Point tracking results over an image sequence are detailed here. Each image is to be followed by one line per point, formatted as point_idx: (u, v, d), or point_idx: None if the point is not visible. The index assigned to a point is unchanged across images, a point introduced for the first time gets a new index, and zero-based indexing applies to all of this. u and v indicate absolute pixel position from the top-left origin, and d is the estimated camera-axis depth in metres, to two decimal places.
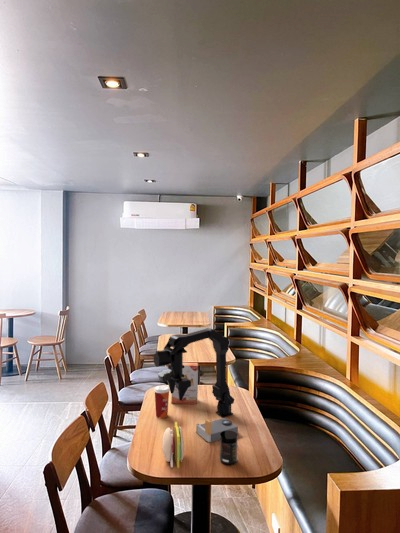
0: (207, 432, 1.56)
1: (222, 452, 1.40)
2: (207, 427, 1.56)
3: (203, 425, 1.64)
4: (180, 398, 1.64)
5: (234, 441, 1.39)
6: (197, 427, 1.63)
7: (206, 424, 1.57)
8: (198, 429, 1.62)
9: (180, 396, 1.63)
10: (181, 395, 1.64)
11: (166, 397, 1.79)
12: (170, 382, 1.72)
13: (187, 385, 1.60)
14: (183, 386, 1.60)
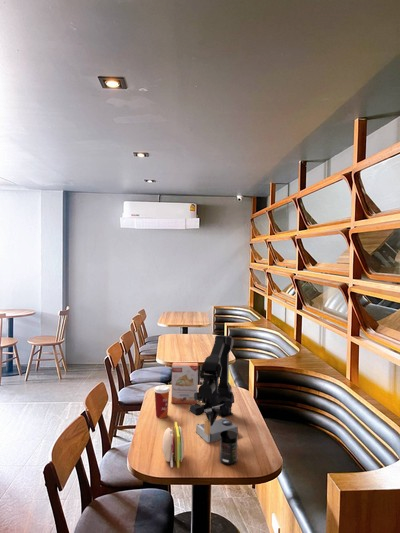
0: (206, 432, 1.56)
1: (222, 452, 1.40)
2: (206, 427, 1.56)
3: (203, 425, 1.64)
4: None
5: (234, 441, 1.39)
6: (197, 427, 1.63)
7: (205, 424, 1.56)
8: (198, 429, 1.62)
9: None
10: None
11: (166, 397, 1.79)
12: None
13: (193, 412, 1.52)
14: (191, 411, 1.54)
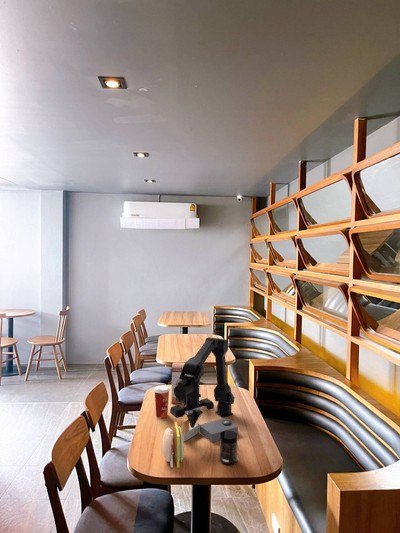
0: None
1: (222, 452, 1.40)
2: None
3: (203, 425, 1.64)
4: (190, 425, 1.56)
5: (234, 441, 1.39)
6: None
7: None
8: None
9: None
10: (190, 422, 1.56)
11: (166, 397, 1.79)
12: None
13: (174, 414, 1.50)
14: (171, 413, 1.52)
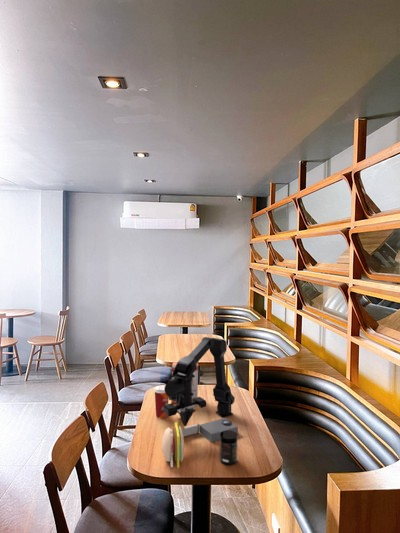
0: None
1: (222, 452, 1.40)
2: None
3: (203, 425, 1.64)
4: (183, 423, 1.58)
5: (234, 441, 1.39)
6: None
7: None
8: None
9: (182, 421, 1.58)
10: (182, 420, 1.57)
11: (166, 397, 1.79)
12: None
13: (166, 412, 1.52)
14: (164, 411, 1.54)
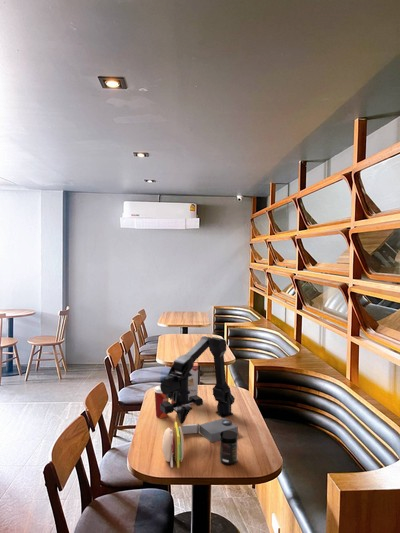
0: None
1: (222, 452, 1.40)
2: None
3: (203, 425, 1.64)
4: (180, 421, 1.60)
5: (234, 441, 1.39)
6: None
7: None
8: None
9: (179, 419, 1.60)
10: (179, 418, 1.60)
11: None
12: None
13: (163, 410, 1.54)
14: (161, 409, 1.56)
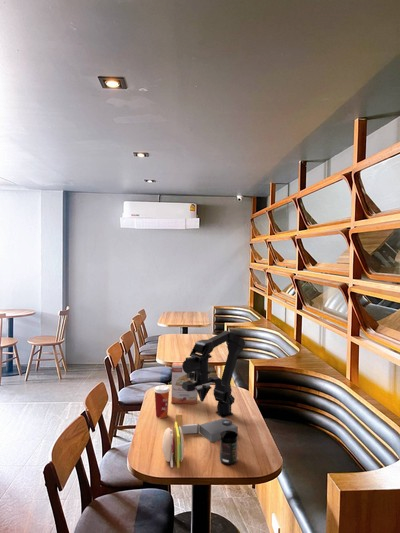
0: None
1: (222, 452, 1.40)
2: None
3: (203, 425, 1.64)
4: (200, 399, 1.72)
5: (234, 441, 1.39)
6: None
7: None
8: None
9: (199, 397, 1.72)
10: (199, 396, 1.71)
11: (166, 397, 1.79)
12: None
13: (185, 388, 1.66)
14: (183, 387, 1.67)
